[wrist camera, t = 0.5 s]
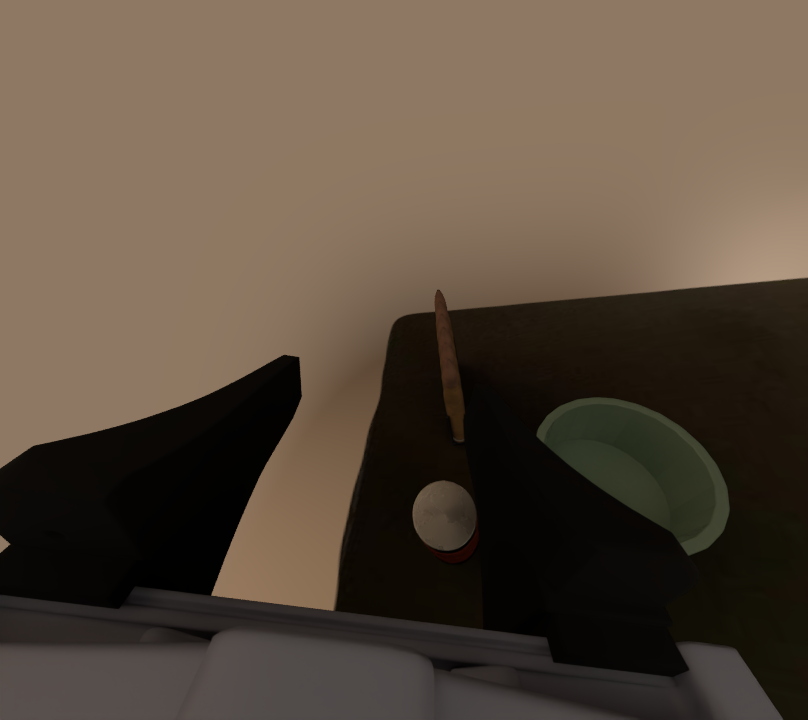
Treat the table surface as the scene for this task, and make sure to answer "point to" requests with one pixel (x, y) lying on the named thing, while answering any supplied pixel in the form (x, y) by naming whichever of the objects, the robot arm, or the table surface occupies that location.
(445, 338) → the ammunition clip
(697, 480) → the cup
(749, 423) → the table surface
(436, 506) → the tin can
